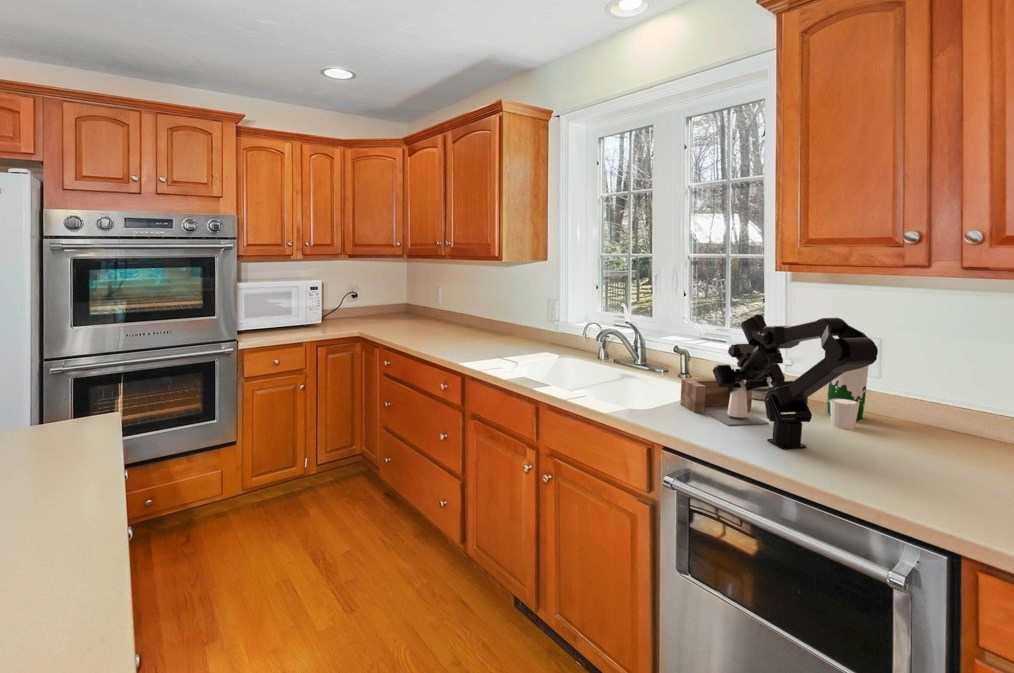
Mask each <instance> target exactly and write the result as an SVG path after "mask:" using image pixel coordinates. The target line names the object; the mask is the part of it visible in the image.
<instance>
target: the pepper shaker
mask: <svg viewBox="0 0 1014 673" xmlns="http://www.w3.org/2000/svg"><path fill="white" fill-rule="evenodd" d="M744 381H745V380H742V381H741V382H740V385H741V388H739V389H737V390H735V391H733V392H731V394H730V400H729V405H727V411H726V412H727V414H728V415H729V416H733V417H743V418H744V417H747V416H748V413H749V412H748V411H747V394H746V387H745V386H744Z"/></svg>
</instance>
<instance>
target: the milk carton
mask: <svg viewBox="0 0 1014 673" xmlns="http://www.w3.org/2000/svg"><path fill="white" fill-rule="evenodd" d="M868 371H869V365H868V366H866V367H863V368H860V369H856V370H851V371H847V372H844V373H843V374H841V375H840V376H838V377H837V378H835V379H834V380H832V381H831V382H830V383H828V388H827V390H828V391H827V401H826V404H827V405H826V406H827V410H826V412H828V413H829V414H830V415H831V411H830V400H831V399H848V400H853V401H856V402H859V403H860V404H859V409H858V413H857V418H856V420H862V421H863V417H864V416H863V415H864V410H865V405H866V397H867V396H866V394H867V385H868ZM828 413H827V414H828ZM829 414H828V415H829ZM830 415H829V416H830Z"/></svg>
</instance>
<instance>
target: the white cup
mask: <svg viewBox="0 0 1014 673" xmlns="http://www.w3.org/2000/svg"><path fill="white" fill-rule="evenodd" d="M859 404H860V403H859V402H856V401H853V400H848V399H831V400H830V411H831V416H830V426H831V425H832V427H833V426H834V428H836V427H837V429H840V428H843V429H842V430H853V429H852V428H854V427H856V424H857V421H856V418H857V413H858V409H859ZM854 429H855V428H854Z"/></svg>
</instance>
